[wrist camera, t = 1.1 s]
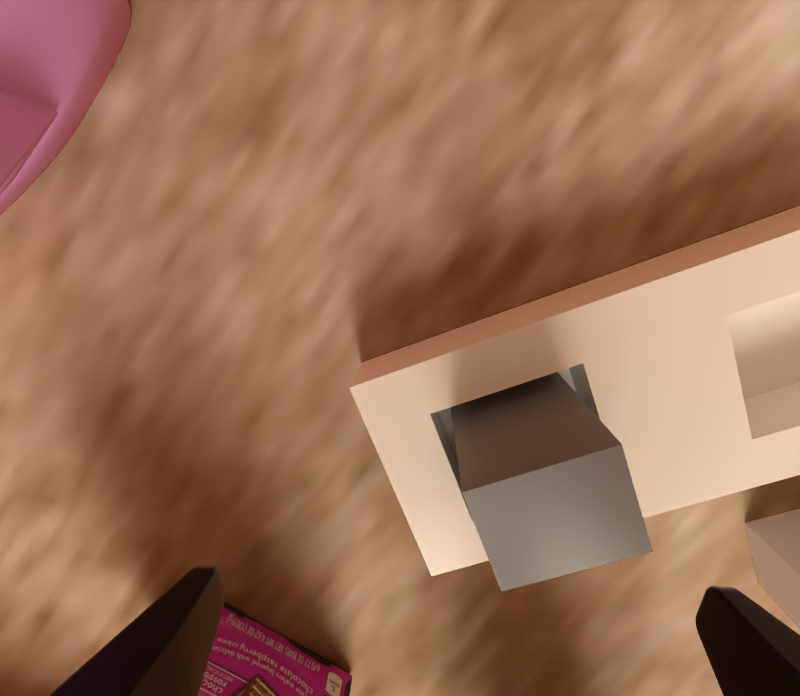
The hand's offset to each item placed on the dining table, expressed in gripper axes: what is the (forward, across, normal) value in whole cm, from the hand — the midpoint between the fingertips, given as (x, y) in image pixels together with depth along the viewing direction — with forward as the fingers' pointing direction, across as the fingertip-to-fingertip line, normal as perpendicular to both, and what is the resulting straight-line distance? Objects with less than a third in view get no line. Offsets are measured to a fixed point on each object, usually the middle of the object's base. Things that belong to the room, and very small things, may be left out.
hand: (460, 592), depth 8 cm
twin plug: (+13, -4, +4) cm, 14 cm away
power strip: (+14, -10, +2) cm, 17 cm away
